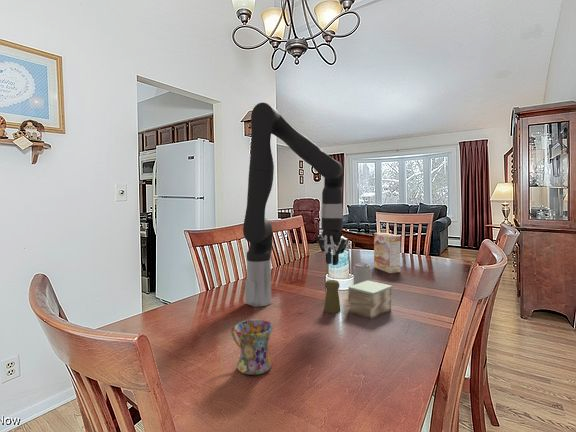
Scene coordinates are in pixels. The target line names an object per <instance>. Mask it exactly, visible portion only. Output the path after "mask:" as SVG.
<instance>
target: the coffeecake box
mask: <svg viewBox="0 0 576 432" xmlns="http://www.w3.org/2000/svg"><path fill="white" fill-rule="evenodd" d="M401 237H402V235H397V234H393V233H388V232H374V237H373V268H375V269H378V270H380V271H383V272H386V273H387V274H394V273H400V272H401Z"/></svg>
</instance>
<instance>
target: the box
mask: <svg viewBox="0 0 576 432" xmlns="http://www.w3.org/2000/svg"><path fill="white" fill-rule="evenodd" d="M347 294H348V303H347V307H348V312H349V313H352V314H355V315H358V316H361V317H365V318H367V319H371V320H374V319H376V318H378V317H380V316H382V315H384V314H387V313H388V312H391V311H392V288H391V289H388V290H386V291H383V292H381V293H378V294H376V295H370V294H366V293H362V292H358V291H354V290H351V289H349V288H348V293H347Z"/></svg>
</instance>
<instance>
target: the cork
mask: <svg viewBox="0 0 576 432" xmlns="http://www.w3.org/2000/svg"><path fill="white" fill-rule="evenodd" d="M324 287H325V290H326V291H325V299H324V305H323V306H324V308H323V311H324V312H326V313H327V314H338V313H340V312H341V311H342V310H341V303H340V302H341V301H340V295H339V289H340V282H339V280H335V279H328V280H326V281H325V284H324Z"/></svg>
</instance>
